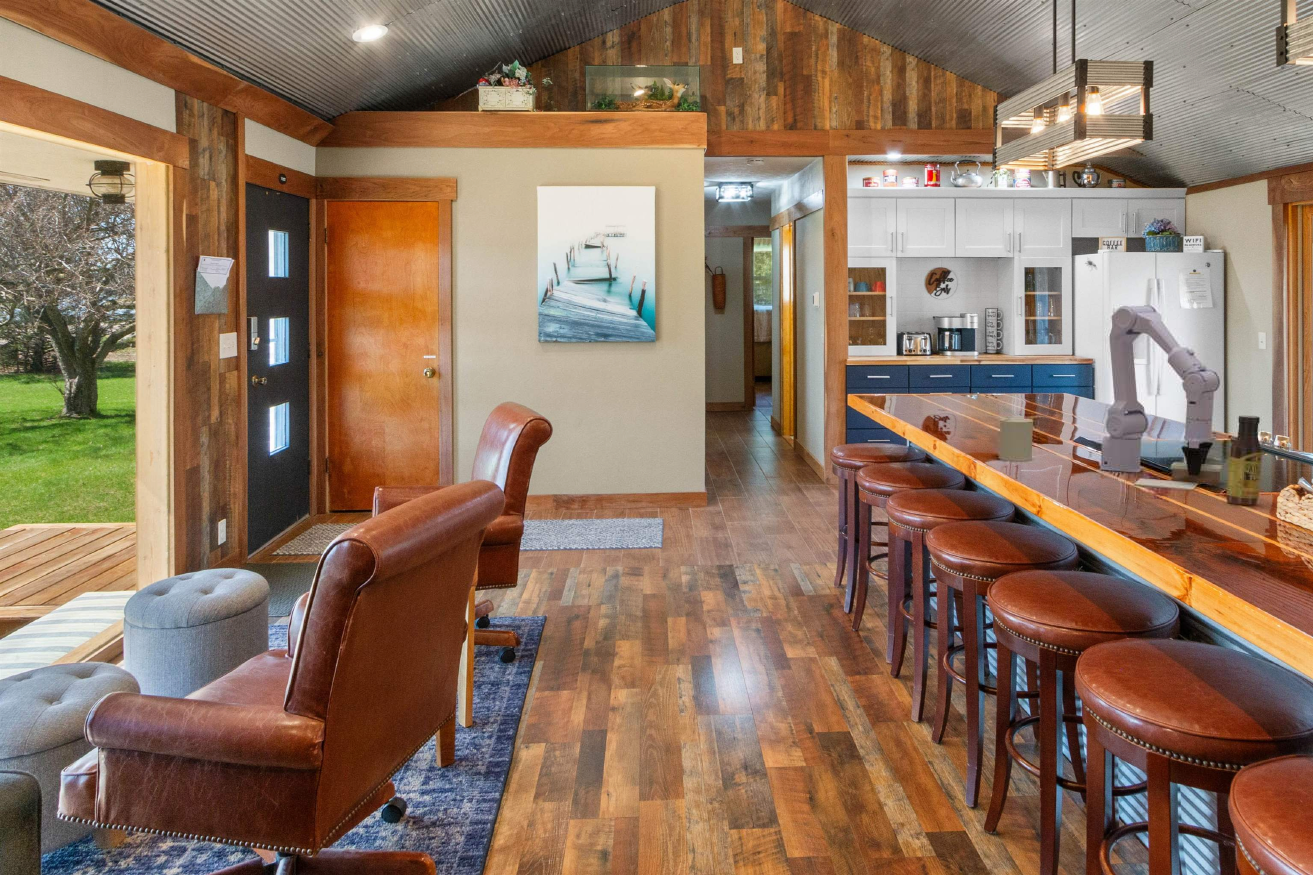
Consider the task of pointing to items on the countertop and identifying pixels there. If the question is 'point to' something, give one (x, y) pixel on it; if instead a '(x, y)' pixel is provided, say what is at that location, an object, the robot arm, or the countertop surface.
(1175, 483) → the felt mat
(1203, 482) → the walnut box
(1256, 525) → the countertop surface
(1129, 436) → the robot arm
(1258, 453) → the sauce bottle
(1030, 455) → the can
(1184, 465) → the lid
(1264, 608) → the countertop surface
